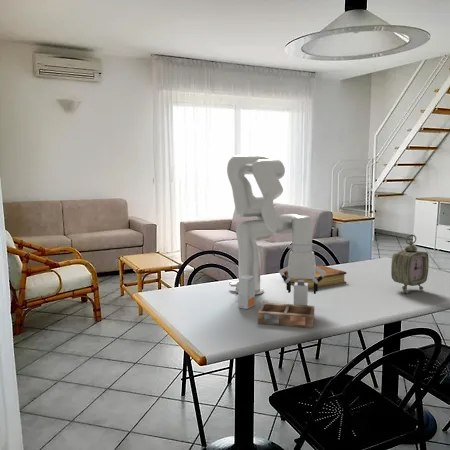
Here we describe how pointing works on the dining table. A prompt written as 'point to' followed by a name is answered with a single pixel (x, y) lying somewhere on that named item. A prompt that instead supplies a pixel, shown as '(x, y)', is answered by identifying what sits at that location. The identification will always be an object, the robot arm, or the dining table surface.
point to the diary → (329, 278)
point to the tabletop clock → (410, 266)
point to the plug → (300, 293)
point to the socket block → (286, 315)
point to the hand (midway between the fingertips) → (302, 292)
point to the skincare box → (246, 291)
